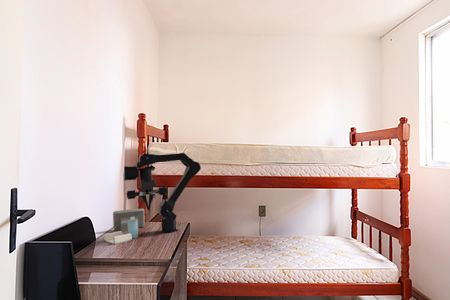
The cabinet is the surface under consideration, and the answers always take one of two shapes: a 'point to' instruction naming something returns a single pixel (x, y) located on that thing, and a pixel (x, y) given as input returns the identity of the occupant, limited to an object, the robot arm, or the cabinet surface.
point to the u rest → (117, 237)
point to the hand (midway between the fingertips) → (148, 210)
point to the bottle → (133, 227)
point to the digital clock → (127, 218)
